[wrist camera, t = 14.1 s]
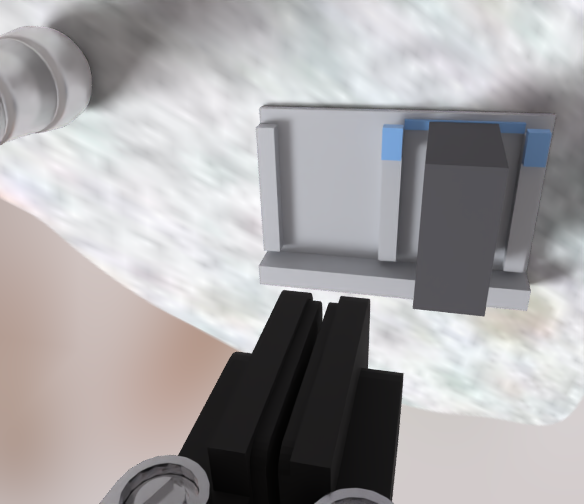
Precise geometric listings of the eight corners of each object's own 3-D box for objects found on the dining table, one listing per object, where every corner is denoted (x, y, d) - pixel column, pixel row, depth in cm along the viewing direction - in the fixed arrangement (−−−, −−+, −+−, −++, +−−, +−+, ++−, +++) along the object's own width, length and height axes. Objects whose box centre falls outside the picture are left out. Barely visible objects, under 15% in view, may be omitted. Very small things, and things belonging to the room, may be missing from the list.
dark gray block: (429, 121, 34) (424, 163, 28) (498, 123, 33) (508, 167, 27) (418, 249, 39) (412, 308, 33) (479, 254, 38) (484, 316, 32)
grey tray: (261, 106, 37) (248, 118, 35) (554, 113, 33) (563, 127, 30) (271, 263, 43) (260, 284, 40) (521, 286, 39) (526, 310, 36)
